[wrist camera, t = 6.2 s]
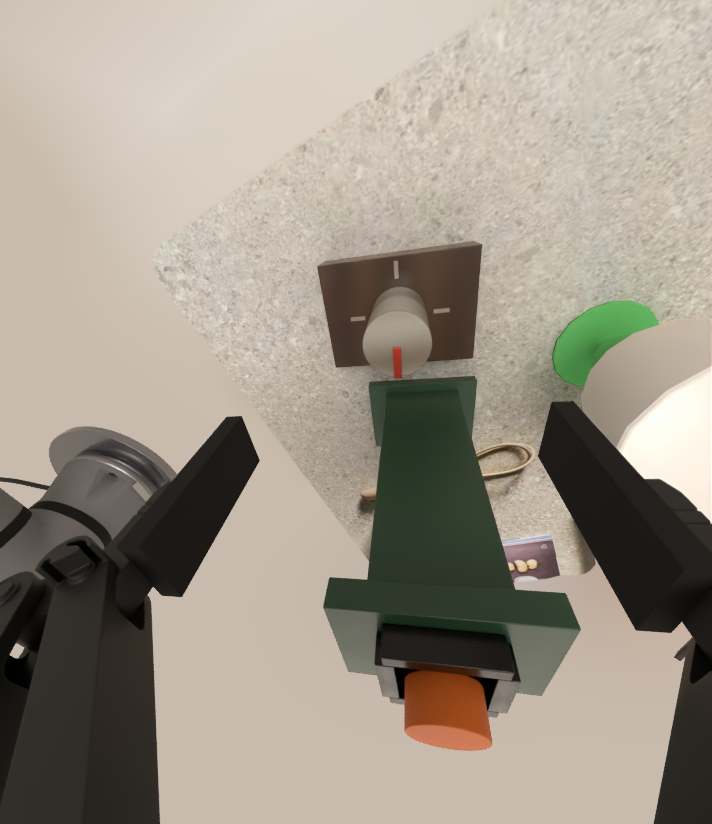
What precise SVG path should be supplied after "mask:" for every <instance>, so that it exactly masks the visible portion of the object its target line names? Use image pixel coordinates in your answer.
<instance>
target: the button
mask: <svg viewBox="0 0 712 824" xmlns="http://www.w3.org/2000/svg"><path fill="white" fill-rule="evenodd" d="M405 733H406V734H407V735H408V736H410V737H411V738H413V739H415V740H417V741H419V742H422V743H426V744H429V745H433V746H437V747H442V748H447V749H454V750H483V749H487V748H489V747H491V745H492V738H491V732H490V726H489V720H488V713H487V707H486V701H485V695H484V689H483V686H482V685H481V683H480V682H478V681H477V680H475V679H473V678H471V677H469V676H467V675H460V674H451V673H443V672H435V671H426V670H419V671H414V672H411V673H409V674H408V675H407V676H406V677H405Z"/></svg>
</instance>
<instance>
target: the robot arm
mask: <svg viewBox="0 0 712 824" xmlns="http://www.w3.org/2000/svg"><path fill="white" fill-rule="evenodd" d="M538 457H539V459H540V460H541V462H542V464H543V466H544V468H545V469H546V471H547V473H548V475H549V476H550V478H551V480H552V482H553V484H554V485H555V487H556V489H557V491H558V492H559V494H560V496H561V498H562V500H563V501H564V503H565V505H566V507H567V509H568V510H569V512H570V514H571V516H572V517H573V519H574V521H575V523H576V525H577V526H578V528H579V530H580V532H581V533H582V535H583V537H584V539H585V541H586V542H587V544H588V546H589V548H590V549H591V551H592V553H593V555H594V557H595V558H596V560H597V562H598V564H599V565H600V567H601V569H602V571H603V573H604V574H605V576H606V578H607V579H608V581H609V583H610V585H611V587H612V589H613V590H614V592H615V594H616V596H617V597H618V599H619V601H620V603H621V604H622V606H623V608H624V610H625V612H626V613H627V615H628V617H629V619H630V621H631V622H632V624H633V626H634V628H635V630H639V631H652V632H667V633H671V632H672V631H673V630H674V629H675V628H676V627H677V626H678V625H679V624H680V623H681V622H683V624H684V625H685V626H686V628H687V629H688V631H689V632H690V633H691V635H692V638H691V639H690V640H689V641H688V642H687V643H686V644H685V645H684V646H683V647H682V648H681V649H680V650H679V651H678V652H677V654H676V655H675V657H674V658H676V659H678V660H679V661H681V660H682V659H683V658H684V657H685V656H686V657H685V662H684V667H683V672H682V678H681V683H680V688H679V693H678V699H677V704H676V709H675V715H674V720H673V726H672V730H671V736H670V741H669V746H668V752H667V757H666V762H665V767H664V772H663V778H662V783H661V788H660V794H659V799H658V804H657V809H656V814H655V820H654V824H712V524H711V523H710V520H709V519H708V518H707V517H706V516H705V515H704V514H703V513H702V512H701V511H698V510H697V507H696V506H695V505H694V504H693V503H692V502H691V501H690V500H689V499H688V498H687V497H686V496H685V495H684V494H683V493H682V492H680V491H679V490H677V489H675V488H674V487H672V486H671V485H669V484H667V483H666V482H664V481H663V480H661V479H644V478H643V477H642V476H641V475H640V474H639V473H638V472H637V471H636V469H635V468H634V467H633V466H632V465H631V464H630V463H629V462H628V461H627V460H626V458H625V457H624V456H623V455H622V454H621V453H620V452H619V451H618V450H617V449H616V447H615V446H614V445H613V444H612V443H611V442H610V441H609V440H608V439H607V438H606V437H605V435H604V434H603V433H602V432H601V431H600V430H599V429H598V428H597V427H596V426H595V424H594V423H593V422H592V421H591V420H590V419H589V418H588V417H587V416H586V415H585V413H584V412H583V411H582V410H581V409H580V408H579V407H578V406H577V405H576V404H575V403H574V401H570V402H551V406H550V410H549V414H548V418H547V422H546V426H545V430H544V434H543V438H542V442H541V446H540V450H539V454H538ZM258 463H259V458H258V455H257V453H256V450H255V448H254V446H253V443H252V441H251V438H250V436H249V433H248V431H247V428H246V426H245V423H244V421H243V418H242V416H236V417H226V418H225V420H224V421H223V422H222V423H221V424H220V425H219V427H218V428H217V429H216V430H215V431H214V432H213V434H212V435H211V436H210V437H209V439H207V441H206V442H205V443H204V444H203V445H202V447H201V448H200V449H199V450H198V451H197V452H196V453H195V455H194V456H193V457H192V458H191V459H190V461H189V462H188V463H187V464H186V466H184V468H183V469H182V470H181V471H180V472H179V473H178V475H177V476H176V477H175V478H174V479H173V480H172V482H167V483H166V484H164V485H163V486H162V487H160V488H159V489H157V487H156V486H155V484H154V483H153V482H152V481H151V479H150V478H149V477H148V476H147V475H146V474H144V473H143V472H142V471H141V470H139V469H138V468H137V467H135V466H134V465H132V464H131V463H129V462H127V461H125V460H123V459H121V458H119V457H116V456H113V455H111V454H107V453H103V452H96V451H87V452H82V453H80V454H78V455H77V456H75V457H74V458H73V459H71V460H70V461H69V462H67V463H66V464H65V465H64V467H63V468H62V470H61V472H60V473H59V474H58V476H57V477H56V478H55V480H54V481H53V483H52V484H51V486H46V485H41V484H37V483H32V482H28V481H23V480H18V479H11V478H1V477H0V481H2V482H11V483H17V484H22V485H26V486H31V487H35V488H40V489H45V490H47V491H46V493H45V494H44V496H43V497H42V498H41V499H40V500H39V501H38V502H37V503H35V504H34V505H33V506H32V507H30V508H29V509H27V508H26V507H24V506H23V505H22V504H21V503H19V502H18V501H17V500H15V499H14V498H13V497H11V496H10V495H9V494H7V493H6V492H5V491H3V490H2V489H1V488H0V824H160V817H159V816H160V815H159V789H158V765H157V740H156V715H155V691H154V690H155V689H154V664H153V640H152V614H151V601H150V598H149V597H148V596H147V595H148V593H149V592H150V590H151V589H152V587H154V588H155V589H156V590H157V591H158V592H159V593H160V594H161V595H162V596H175V597H182V596H183V594H184V592H185V590H186V589H187V587H188V585H189V583H190V582H191V580H192V578H193V576H194V575H195V573H196V571H197V570H198V568H199V566H200V564H201V563H202V561H203V559H204V557H205V556H206V554H207V552H208V550H209V548H210V547H211V545H212V543H213V542H214V540H215V538H216V536H217V535H218V533H219V531H220V529H221V528H222V526H223V524H224V522H225V520H226V519H227V517H228V515H229V514H230V512H231V510H232V508H233V507H234V505H235V503H236V501H237V500H238V498H239V496H240V494H241V492H242V491H243V489H244V487H245V485H246V484H247V482H248V480H249V478H250V477H251V475H252V473H253V471H254V470H255V468H256V466H257V464H258ZM16 643H18V644H19V645H21V646H23V647H25V648H24V650H23V653H22V654H21V655H20V656H19V658H18V659H16V658H13V657H12V656H10V655H9V654H10V653H11V651H12V649H13V647H14V645H15V644H16Z"/></svg>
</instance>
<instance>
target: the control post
mask: <svg viewBox="0 0 712 824" xmlns="http://www.w3.org/2000/svg"><path fill="white" fill-rule="evenodd" d="M476 386H477V380H476V378H475V376H471V377H454V378H436V379H418V380H400V381H382V382H370V384H369V392H370V400H371V408H372V416H373V424H374V432H375V440H376V446H381V453H380V462H379V472H378V482H377V492H376V501H375V511H374V521H373V530H372V540H371V550H370V559H369V570H368V579H367V580H361V579H347V578H332V577H330V578H329V582H328V587H327V591H326V596H325V601H324V606H323V607H324V610H325V613H326V615H327V618H328V621H329V623H330V626H331V628H332V631H333V633H334V636H335V638H336V641H337V644H338V646H339V649H340V651H341V654H342V656H343V659H344V661H345V664H346V666H347V669H348V671H349V672H355V673H363V674H371V675H377V676H378V680H379V684H380V687H381V691H382V695H383V696H386V697H390V702H391V703H397V704H404V705H405V677H406V676H407V675H408V674H409V673H411V672H414V671H419V670H426V671H435V672H443V673H451V674H460V675H467V676H469V677H471V678H473V679H475V680H477V681H478V682H480V683H481V685H482V686H483V689H484V695H485V701H486V707H487V713H488V717H495V718H496V717H497V716H498V714H499V712H500V713H507V712H508V710H509V708H510V706H511V703H512V701H513V699H514V697H515V694H516V693H523V694H531V695H538V696H542V694H543V692H544V691H545V689H546V687H547V686H548V684H549V682H550V681H551V679H552V677H553V676H554V674H555V672H556V671H557V669H558V667H559V666H560V664H561V662H562V661H563V659H564V657H565V655H566V654H567V652H568V650H569V649H570V647H571V645H572V644H573V642H574V640H575V639H576V637H577V635H578V634H579V632H580V630H581V629H580V626H579V624H578V621H577V619H576V617H575V614H574V612H573V609H572V607H571V605H570V603H569V600H568V598H567V595H566V594H565V593H555V592H540V591H526V590H525V591H524V590H515V587H514V583H513V580H512V577H511V573H510V570H509V566H508V563H507V559H506V556H505V552H504V549H503V545H502V542H501V539H500V535H499V532H498V528H497V525H496V521H495V518H494V514H493V511H492V507H491V504H490V501H489V497H488V494H487V490H486V487H485V483H484V480H483V476H482V473H481V470H480V466H479V463H478V459H477V456H476V452H475V449H474V445H473V442H472V429H473V418H474V408H475V397H476Z"/></svg>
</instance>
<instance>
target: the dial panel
mask: <svg viewBox="0 0 712 824" xmlns="http://www.w3.org/2000/svg"><path fill="white" fill-rule="evenodd" d="M481 250H482V244H480V243H477V242H475V241H473V242H466V243H458V244H451V245H443V246H436V247H429V248H421V249H414V250H406V251H399V252H392V253H384V254H377V255H369V256H362V257H355V258H347V259H340V260H332V261H325V262H323V263H322V264H320V265H319V266H317V267H318V273H319V278H320V284H321V289H322V294H323V300H324V305H325V311H326V316H327V321H328V327H329V332H330V338H331V343H332V349H333V354H334V359H335V365H336V367H350V366H365V365H370V364H369V362H368V361H367V359H366V357H365V355H364V352H363V337H364V334H365V331H366V328H367V325H368V322H369V319H370V316H371V313H372V310H373V307H374V304H375V302H376V300H377V299H378V297H379V296H380V295H381V294H382V293H383V292H385V291H387V290H388V289H391V288H394V287H406V288H409V289H412V290H414V291H415V292H416V293H418V294H419V295H420V297H421V298H422V300H423V302H424V304H425V308H426V313H427V317H428V322H429V327H430V332H431V337H432V349H431V353H430V355H429V358H428V359H427V361H440V360H455V359H470V358H473V350H474V337H475V325H476V312H477V300H478V288H479V275H480V263H481Z"/></svg>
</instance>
